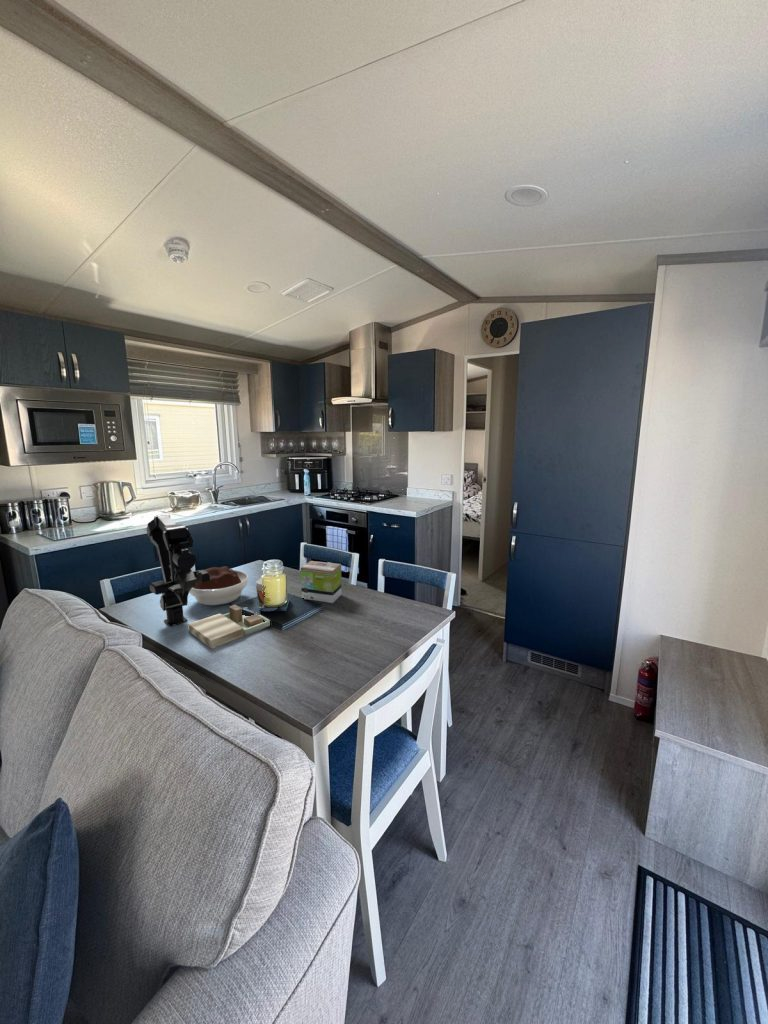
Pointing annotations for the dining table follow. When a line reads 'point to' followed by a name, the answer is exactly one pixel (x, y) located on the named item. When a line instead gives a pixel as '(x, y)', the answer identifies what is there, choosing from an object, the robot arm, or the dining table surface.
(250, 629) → the tray
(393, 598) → the dining table surface
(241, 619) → the walnut tile
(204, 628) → the birch bench plate
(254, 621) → the walnut tile
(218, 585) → the white serving bowl
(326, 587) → the tea box
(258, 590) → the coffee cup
